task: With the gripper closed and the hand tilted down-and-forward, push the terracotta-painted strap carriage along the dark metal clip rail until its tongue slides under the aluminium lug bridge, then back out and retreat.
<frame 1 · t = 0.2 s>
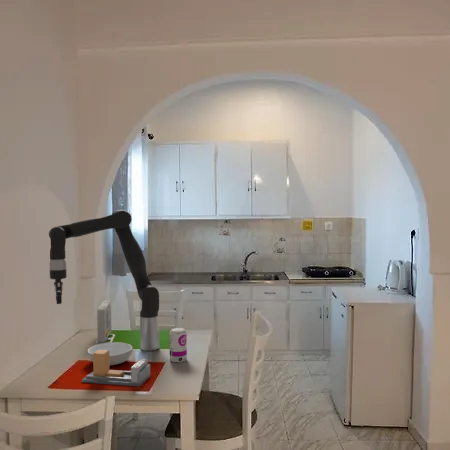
hand: (58, 302, 216), 29 cm above the table, tool pointing down, fingers open, 8 cm apart
supplement can: (178, 360, 217), on the table
clip rail: (116, 379, 193), on the table
network device: (105, 340, 254), on the table
strap carriage: (108, 363, 194), point 7 cm above the table, slide at 0.0 cm
serving bowl: (110, 363, 215), on the table
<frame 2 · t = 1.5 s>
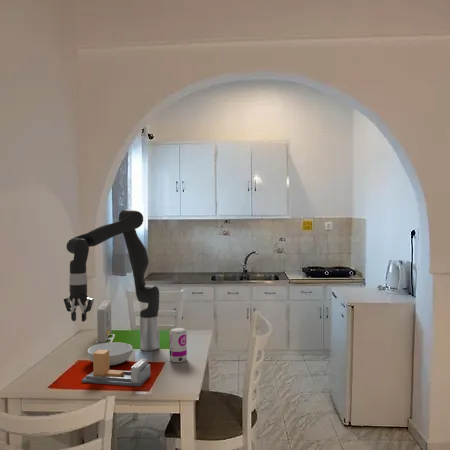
hand: (79, 320, 202), 23 cm above the table, tool pointing down, fingers open, 4 cm apart
nothing on the table moved.
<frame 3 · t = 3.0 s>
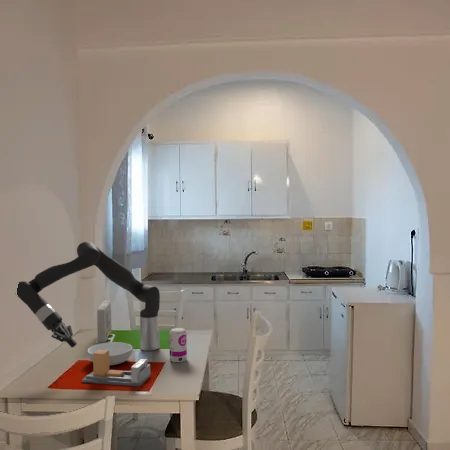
hand: (74, 345, 197), 13 cm above the table, tool tilted 45°, fingers closed
nothing on the table moved.
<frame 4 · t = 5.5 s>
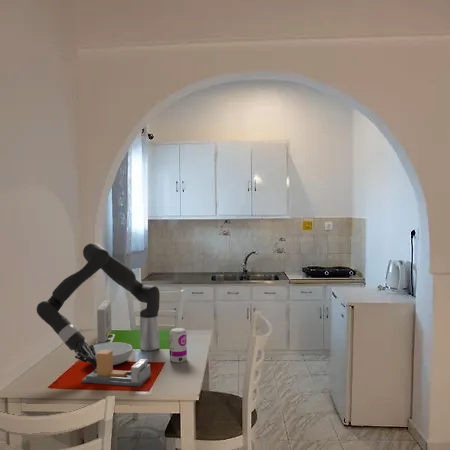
hand: (97, 366, 195), 5 cm above the table, tool tilted 45°, fingers closed
strap carriage: (112, 363, 194), point 7 cm above the table, slide at 1.6 cm, touching gripper
everything else where it was.
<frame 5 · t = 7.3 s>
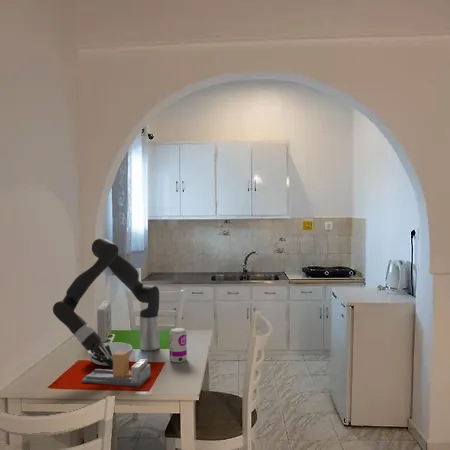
hand: (114, 366, 193), 5 cm above the table, tool tilted 45°, fingers closed
strap carriage: (128, 364, 192), point 7 cm above the table, slide at 9.0 cm, touching gripper
everything else where it was.
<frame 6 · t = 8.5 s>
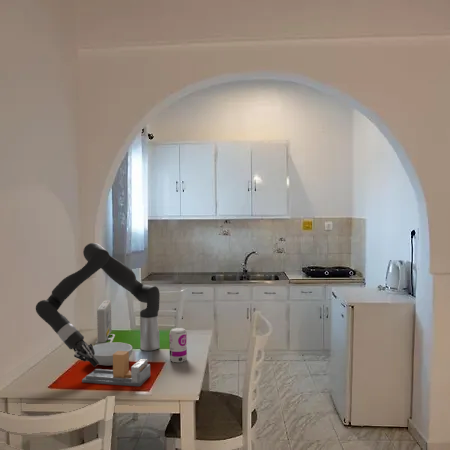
hand: (96, 365, 195), 6 cm above the table, tool tilted 45°, fingers closed
strap carriage: (128, 364, 192), point 7 cm above the table, slide at 9.1 cm
everything else where it was.
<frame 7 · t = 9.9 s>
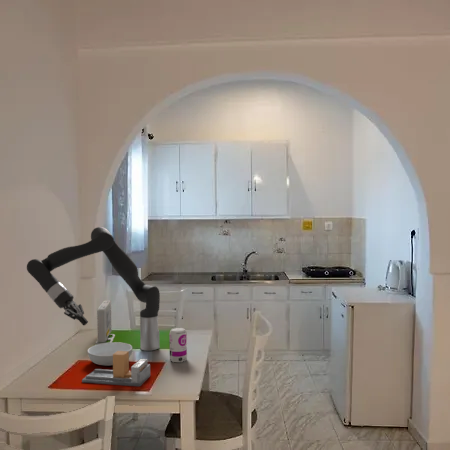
hand: (86, 323, 198), 23 cm above the table, tool tilted 45°, fingers closed
nothing on the table moved.
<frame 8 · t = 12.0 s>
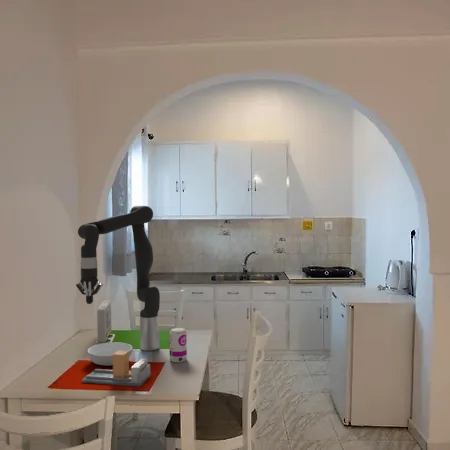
hand: (89, 303, 211), 29 cm above the table, tool pointing down, fingers closed
nothing on the table moved.
at the end: strap carriage slide at 9.1 cm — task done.
